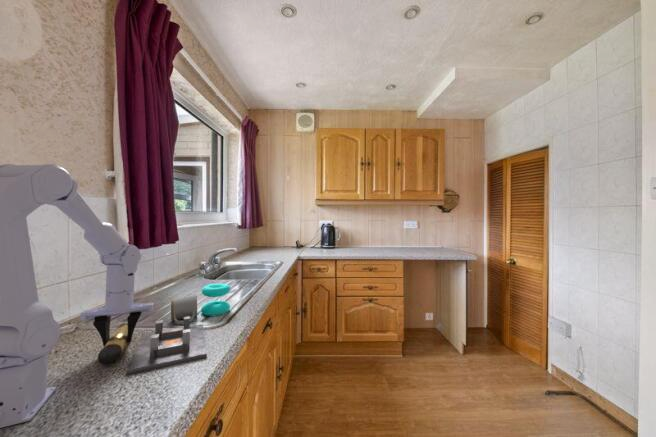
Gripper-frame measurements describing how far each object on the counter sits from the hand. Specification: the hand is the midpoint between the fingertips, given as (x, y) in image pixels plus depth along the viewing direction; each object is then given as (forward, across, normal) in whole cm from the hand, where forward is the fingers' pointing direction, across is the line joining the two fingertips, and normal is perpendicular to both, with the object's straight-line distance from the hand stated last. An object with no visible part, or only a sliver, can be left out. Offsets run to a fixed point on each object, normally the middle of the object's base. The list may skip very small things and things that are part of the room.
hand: (118, 343), depth 65 cm
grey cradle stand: (+2, -12, +3) cm, 13 cm away
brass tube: (+2, 0, 0) cm, 2 cm away
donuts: (+2, -25, -21) cm, 33 cm away
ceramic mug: (+2, -15, -18) cm, 24 cm away
